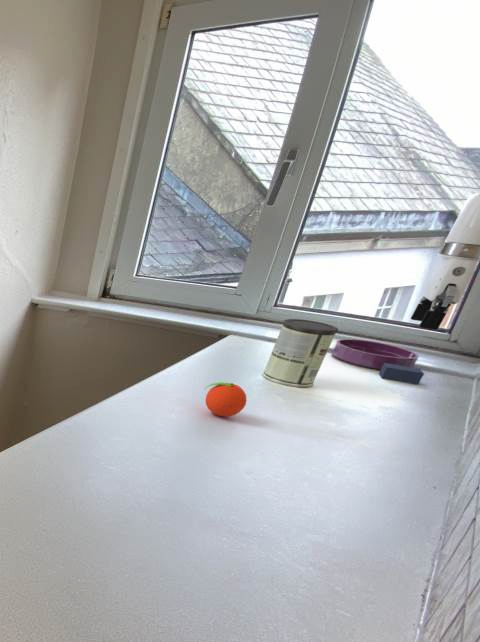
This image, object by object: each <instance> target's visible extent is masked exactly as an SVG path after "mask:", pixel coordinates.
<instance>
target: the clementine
mask: <svg viewBox="0 0 480 642" xmlns="http://www.w3.org/2000/svg"><path fill="white" fill-rule="evenodd" d="M211 386H213V387H211ZM209 387H211V388H210V390H208V392H207V393H206V395H205V405H206V408H207V410H209V411H210V412H211V413H212V414H213V415H215V416H219V417H225V418H228V417H232V416H235V415H237V414H239V413H240V412H241V411H243V410H244V408H245V407H246V405H247V400H248V399H247V394H246V392H245V391H244V390H243V388H241V387H240V386H239V385H238V384H235V383H231V382H215V383H211V384H208V385H207V386H205V389H207V388H209Z"/></svg>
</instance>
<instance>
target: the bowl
mask: <svg viewBox="0 0 480 642" xmlns="http://www.w3.org/2000/svg"><path fill="white" fill-rule="evenodd" d="M330 352H331V355H333V356H334V357H336V358H337V359H339V360H340V361H342V362H345V363H349V364H351V365H355V366H358V367H362V368H363V367H364V368H369V369H372V370H377V371H378V370H379V371H380V370H381V368H382V366H383V364H384V363H388V364H394V365H400V366H406V367H412V368H414V367H415V365H416V363H417V361H418V359H419V358H420V355H419V354H418V353H416V352H414V351H412V350H409V349H406V348H403V347H400V346H396V345H392V344H387V343H384V342H377V341H371V340H365V339H355V338H342V339H341V338H340V339H337V340H336V341H335V343H334V345H333V347H332V350H331V351H330Z"/></svg>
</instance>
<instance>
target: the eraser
mask: <svg viewBox="0 0 480 642" xmlns="http://www.w3.org/2000/svg"><path fill="white" fill-rule="evenodd" d="M378 374H379V375H378V376H380V378H381V379H384V380H390V381H396V382H401V383H407V384H413V385H417V386H418V385H419V384H420V382H421V380H422V378H423V377H424V375H425V373H424V372H423V371H422V369H421V368H417V367H413V368H412V367H406V366H400V365H394V364H388V363H384V364H383V366H382V368H381V370H379V372H378Z"/></svg>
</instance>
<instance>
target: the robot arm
mask: <svg viewBox="0 0 480 642" xmlns="http://www.w3.org/2000/svg"><path fill="white" fill-rule="evenodd" d="M437 257H441V259H440V261H439V262H438V263H437V266H436V267H435V268H434V270H433V272H432V274H431V275H430V278H429V280H428V281H427V283H426V285H425V287H424V290H423V292H422V298H421V299H420V300H419V303H417V305H416V307H415V309H414V311H413V313H412V315H411V317H410V320H412V321H418V322H420V323H419V328H422V329H428V330H438V329H440V328H439V327H440V326H441V324H442V323H443V321H444V318H445V317H446V315H447V313H448V311H449V309H450V306H452V305H457V304H459V303H460V301H461V299H462V297H463V295H464V293H465V291H466V290H467V288H468V285H469V283H470V281H471V279H472V277H473V275H474V273H475V271H476V267H477V265H478V262H480V192H479V193H473V194H471V195H469V197H468V198H467V199H466V201H465V202H464V204H463V206H462V207H461V210H460V212H459V214H458V215H457V218H456V219H455V221H454V223H453V225H452V227H451V229H450V231H449V233H448V234H447V237H446V238H445V241H444V242H443V244H442V246H441V248H440V250H439V251H438V253H437Z"/></svg>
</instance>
